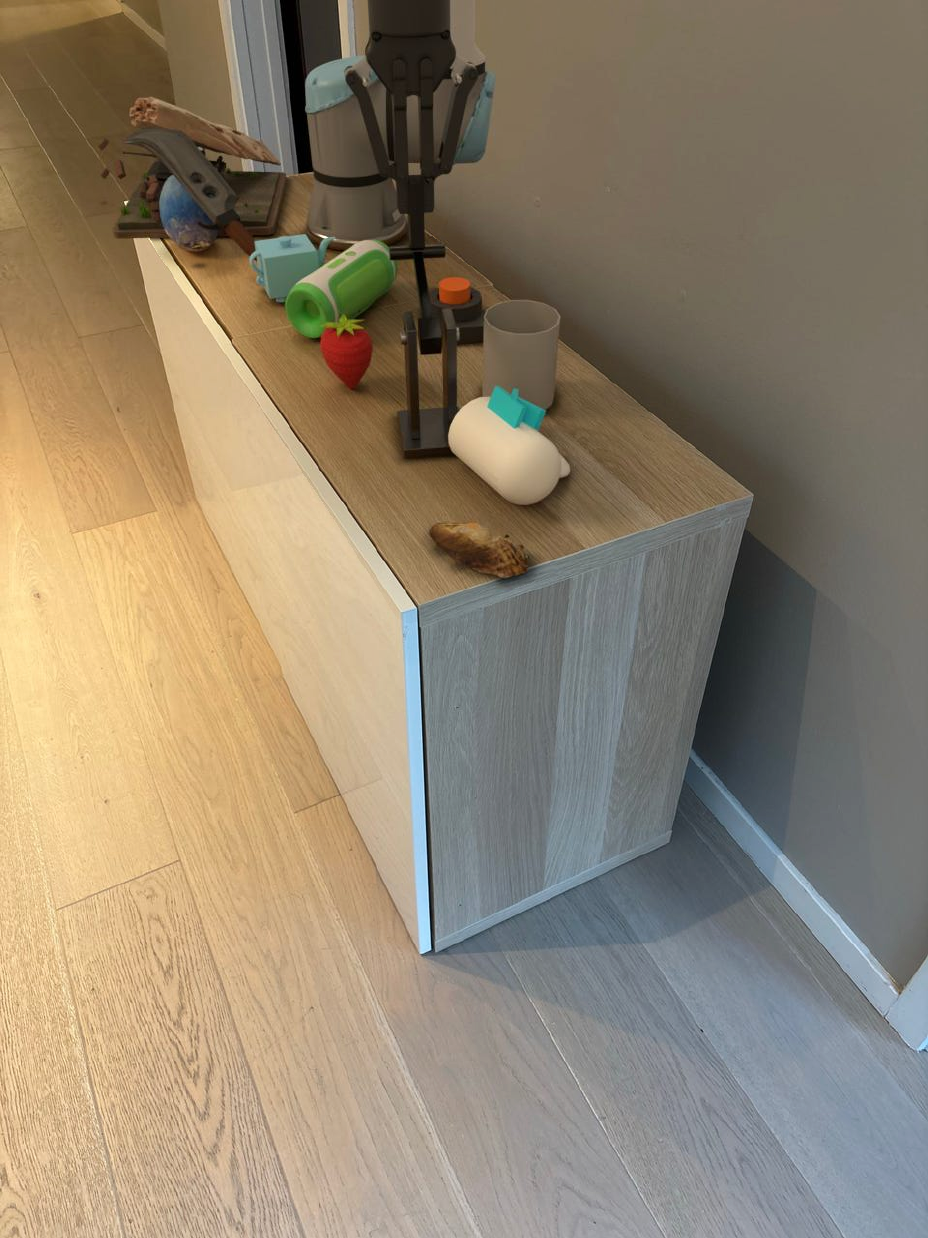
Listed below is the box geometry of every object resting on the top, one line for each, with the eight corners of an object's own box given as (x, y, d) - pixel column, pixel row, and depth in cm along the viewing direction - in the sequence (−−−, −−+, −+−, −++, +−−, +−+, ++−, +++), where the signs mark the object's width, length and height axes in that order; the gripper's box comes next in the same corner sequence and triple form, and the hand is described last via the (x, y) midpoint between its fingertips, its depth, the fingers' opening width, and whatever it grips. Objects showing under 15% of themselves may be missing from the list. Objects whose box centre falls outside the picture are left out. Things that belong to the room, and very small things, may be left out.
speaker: (358, 284, 131) (354, 230, 126) (402, 294, 129) (400, 240, 124) (285, 336, 120) (277, 279, 115) (332, 348, 118) (327, 291, 113)
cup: (548, 419, 106) (554, 338, 99) (477, 411, 107) (478, 330, 100) (557, 382, 112) (564, 303, 105) (490, 375, 113) (492, 296, 106)
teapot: (333, 275, 133) (328, 222, 128) (345, 293, 129) (340, 238, 124) (250, 288, 130) (241, 234, 125) (260, 307, 126) (251, 251, 120)
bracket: (397, 419, 106) (391, 303, 96) (458, 415, 107) (458, 299, 97) (404, 459, 100) (398, 340, 91) (468, 454, 101) (469, 335, 91)
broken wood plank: (266, 172, 164) (271, 142, 163) (307, 184, 157) (314, 153, 155) (114, 123, 143) (119, 87, 142) (154, 134, 136) (159, 96, 135)
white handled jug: (539, 430, 85) (468, 375, 93) (504, 516, 90) (439, 456, 97) (624, 439, 93) (552, 387, 100) (587, 518, 97) (521, 462, 105)
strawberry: (333, 408, 108) (324, 327, 101) (319, 377, 113) (309, 297, 106) (382, 399, 109) (377, 319, 102) (366, 369, 114) (360, 290, 107)
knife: (250, 291, 128) (118, 132, 130) (249, 301, 130) (119, 144, 133) (301, 264, 132) (171, 109, 134) (299, 274, 134) (172, 121, 136)
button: (437, 293, 121) (437, 277, 120) (467, 291, 122) (468, 276, 120) (441, 306, 118) (441, 291, 117) (472, 304, 119) (472, 289, 117)
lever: (389, 257, 101) (388, 239, 99) (443, 254, 102) (444, 236, 100) (402, 356, 95) (401, 339, 93) (460, 352, 96) (461, 335, 94)
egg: (242, 264, 138) (224, 177, 141) (202, 238, 130) (183, 147, 133) (198, 290, 142) (182, 204, 144) (156, 266, 134) (139, 177, 137)
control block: (424, 309, 126) (423, 281, 123) (475, 306, 126) (475, 278, 124) (432, 345, 119) (432, 315, 116) (487, 341, 119) (487, 311, 117)
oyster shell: (476, 492, 91) (541, 547, 86) (469, 523, 93) (533, 579, 88) (427, 504, 88) (492, 562, 82) (421, 536, 90) (484, 595, 85)
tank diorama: (287, 178, 161) (278, 110, 154) (273, 234, 143) (262, 161, 136) (124, 182, 160) (107, 114, 153) (90, 240, 143) (69, 165, 135)
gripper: (337, -11, 80) (357, 260, 96) (486, -15, 81) (482, 253, 98) (333, -28, 85) (353, 232, 102) (474, -31, 87) (471, 226, 103)
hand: (416, 242), depth 100 cm, fingers closed
